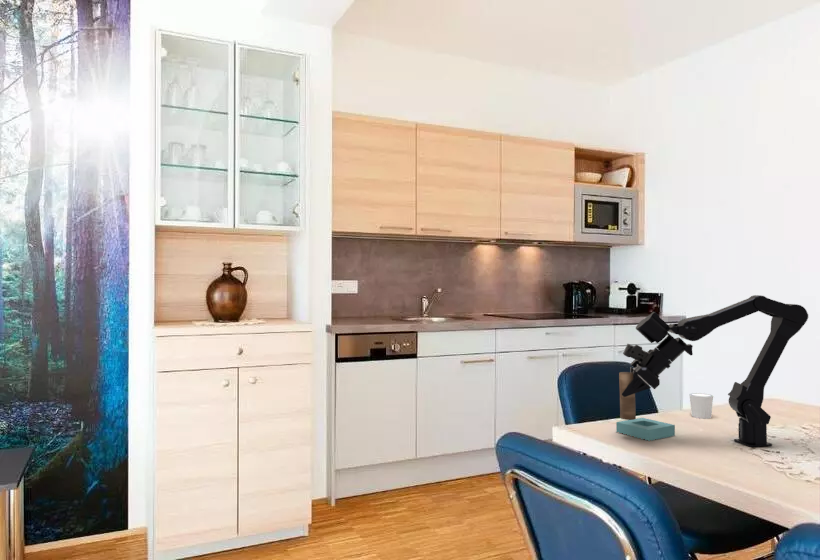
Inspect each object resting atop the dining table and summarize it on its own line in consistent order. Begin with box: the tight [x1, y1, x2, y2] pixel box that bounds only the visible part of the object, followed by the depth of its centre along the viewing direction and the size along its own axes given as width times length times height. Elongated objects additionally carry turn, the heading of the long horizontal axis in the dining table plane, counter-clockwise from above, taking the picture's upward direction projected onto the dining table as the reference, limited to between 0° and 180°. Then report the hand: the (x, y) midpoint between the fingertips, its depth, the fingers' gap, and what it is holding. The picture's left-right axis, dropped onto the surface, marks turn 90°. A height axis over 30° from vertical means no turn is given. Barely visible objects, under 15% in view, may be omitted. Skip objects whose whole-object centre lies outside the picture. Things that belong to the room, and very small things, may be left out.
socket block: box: [615, 417, 676, 442], centre depth 170 cm, size 11×11×3 cm
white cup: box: [689, 392, 714, 419], centre depth 192 cm, size 7×7×7 cm
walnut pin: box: [618, 371, 637, 421], centre depth 166 cm, size 4×4×12 cm
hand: (622, 394), depth 166 cm, fingers closed on walnut pin, 4 cm apart
